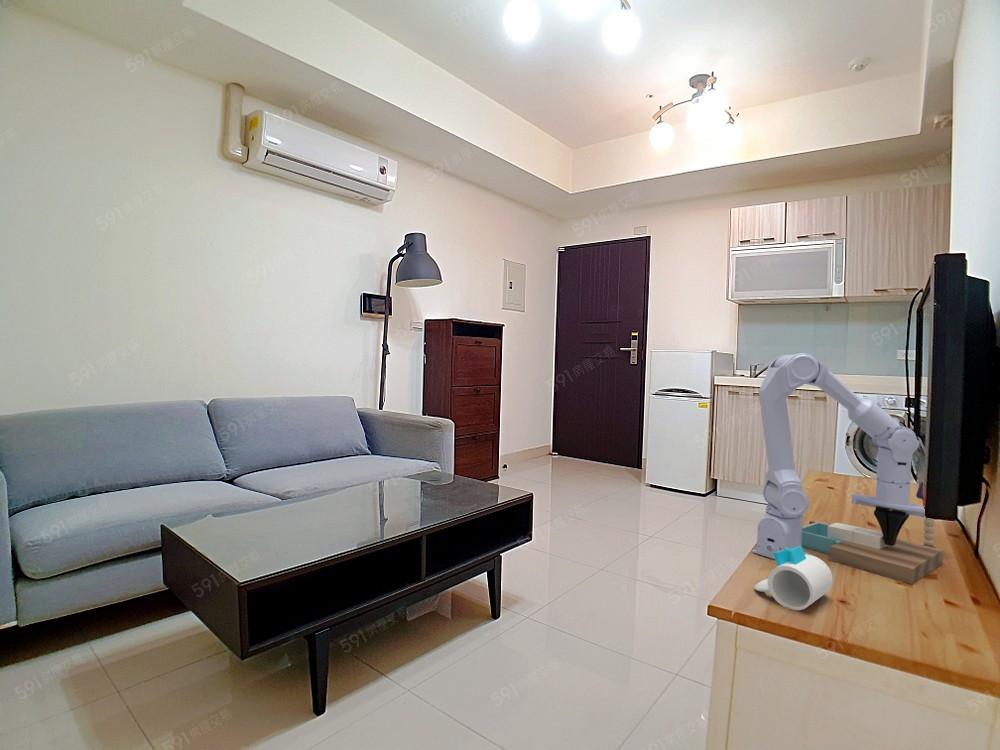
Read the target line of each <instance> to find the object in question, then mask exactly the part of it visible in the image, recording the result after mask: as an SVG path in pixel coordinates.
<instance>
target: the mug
mask: <svg viewBox="0 0 1000 750" xmlns="http://www.w3.org/2000/svg"><path fill="white" fill-rule="evenodd" d="M804 552H805V551H804V549H803V547H802V546H798V547H796V548H793V549H789V548H784V551H780V552H776V553H773V555H774V557H775V559H774V560H775V562H776V565H777V566H776V567H774V568H773V569H772V570H770V572H769V574H768V576H767V577H768V578H766V579H763V580H761V581H759V582H757V583H756V584H755V585H754V590H756V591H757V592H762V593H770V594H771V596H772V598H774V600H775V602H777V603H778V604H780V605H781V606H782V607H784V608H787V609H790V610H793V611H802V610H805V609H806V608H808V607H809V606H810V605H813V603H815V602H816V601H817V600H819V599H820V598H822V597H823V596H824V595H826V594H828V593H829V592H830V590H831V588H832V585H833V582H834V580H833V574H832V571H831V569H830V568H829V565H828V564H827V563H826V562H825V561H823V560H822V559H821V558H819V557H818V556H815V555H812V554H809V555H807V554H804Z"/></svg>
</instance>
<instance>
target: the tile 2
mask: <svg viewBox="0 0 1000 750" xmlns="http://www.w3.org/2000/svg"><path fill="white" fill-rule="evenodd" d="M853 543H856V544H860V545H864V546H868V547H872V548H876V549H881V548H883V547H885V546H887V545H885V543H884V537H883V533H882V531H876V530H873V529H869V528H864V527H861V528H860V529H858V530H855V531H853Z"/></svg>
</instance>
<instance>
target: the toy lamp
mask: <svg viewBox="0 0 1000 750" xmlns="http://www.w3.org/2000/svg"><path fill="white" fill-rule="evenodd" d="M922 492H923V482H922V480H921V481H920V483H919V486H918V489H917V491H916V494H915V495H916V496H915V497H916V498H918V499H920V500H924V499H923V493H922ZM923 524H924V527H923V531H924V533H923V537H924V540H923V545H924V546H929V547H933V548H936V547H935V546H934V545H935V543H934V537H935V536H934V535H935V534H934V532H935V527H934V526H935V519H934V520H930V519H927V518H924V519H923Z"/></svg>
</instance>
